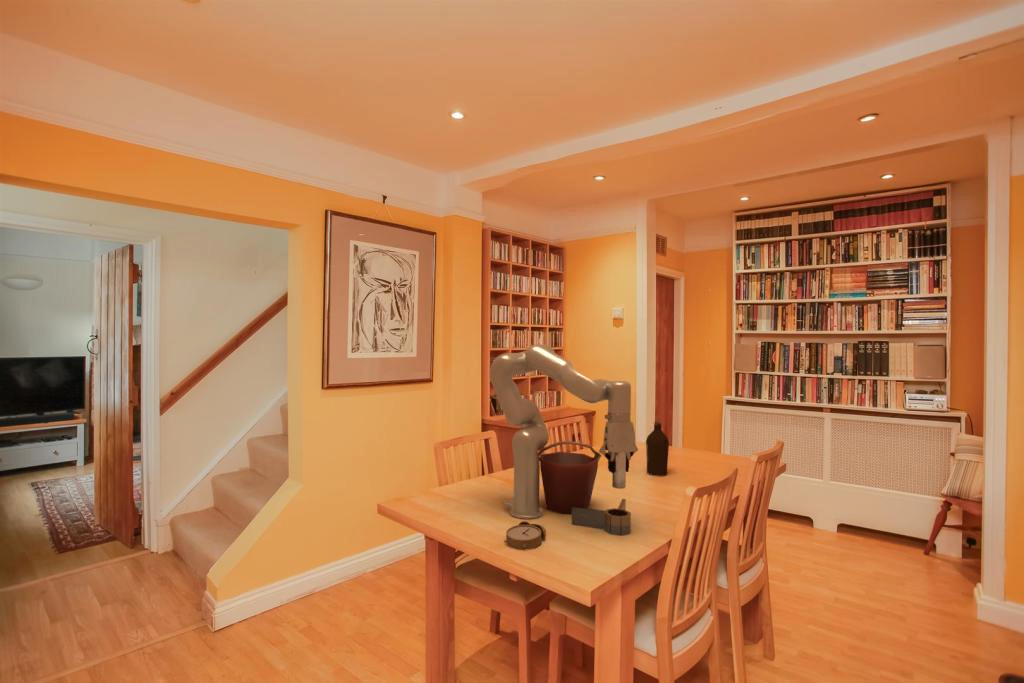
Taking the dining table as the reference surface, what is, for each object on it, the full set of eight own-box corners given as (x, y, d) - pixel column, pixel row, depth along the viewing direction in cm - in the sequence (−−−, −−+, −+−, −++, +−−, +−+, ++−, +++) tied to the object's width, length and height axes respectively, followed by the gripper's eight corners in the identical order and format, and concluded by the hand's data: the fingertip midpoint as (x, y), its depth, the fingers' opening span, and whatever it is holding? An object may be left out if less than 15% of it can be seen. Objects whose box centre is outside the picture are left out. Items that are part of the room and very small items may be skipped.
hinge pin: (611, 487, 170) (611, 446, 170) (613, 484, 174) (614, 443, 174) (624, 489, 168) (625, 447, 168) (626, 485, 172) (627, 444, 172)
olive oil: (670, 472, 247) (671, 421, 247) (666, 477, 238) (666, 424, 238) (648, 469, 252) (649, 419, 252) (643, 474, 243) (644, 422, 243)
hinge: (568, 528, 173) (569, 510, 173) (581, 509, 192) (581, 493, 192) (628, 536, 166) (628, 518, 166) (635, 516, 185) (635, 500, 185)
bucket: (601, 501, 202) (603, 439, 202) (596, 520, 180) (597, 450, 180) (541, 495, 208) (543, 434, 208) (529, 512, 187) (531, 445, 187)
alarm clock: (498, 535, 158) (523, 513, 171) (500, 550, 159) (524, 527, 172) (529, 544, 152) (552, 520, 165) (530, 559, 153) (553, 534, 166)
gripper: (602, 420, 165) (601, 476, 165) (647, 418, 170) (646, 472, 170) (591, 417, 172) (591, 470, 172) (635, 415, 177) (634, 467, 178)
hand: (618, 471), depth 171 cm, fingers closed on hinge pin, 4 cm apart
